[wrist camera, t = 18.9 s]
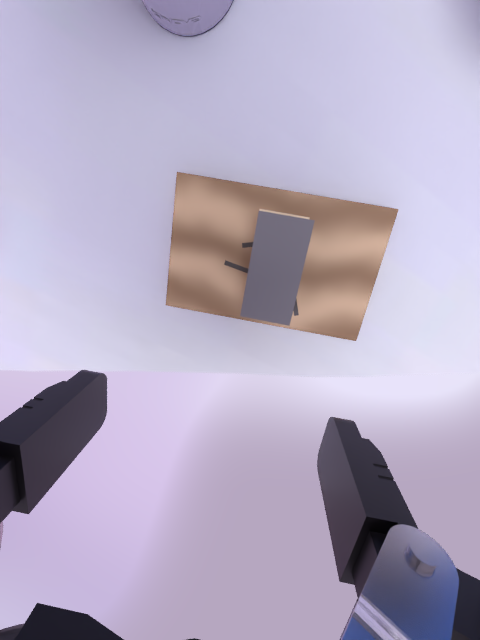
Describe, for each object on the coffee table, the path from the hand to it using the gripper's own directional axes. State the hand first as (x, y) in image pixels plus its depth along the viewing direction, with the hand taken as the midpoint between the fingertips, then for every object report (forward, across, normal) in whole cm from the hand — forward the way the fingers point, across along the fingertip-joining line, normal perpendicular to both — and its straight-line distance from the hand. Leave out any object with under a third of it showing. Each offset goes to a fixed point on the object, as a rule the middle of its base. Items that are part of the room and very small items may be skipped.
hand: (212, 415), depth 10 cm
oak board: (+24, -2, -3) cm, 24 cm away
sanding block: (+22, -2, -3) cm, 23 cm away
